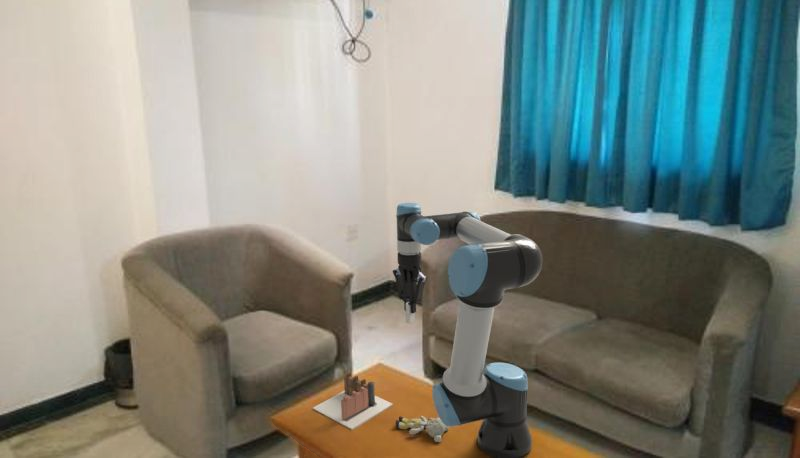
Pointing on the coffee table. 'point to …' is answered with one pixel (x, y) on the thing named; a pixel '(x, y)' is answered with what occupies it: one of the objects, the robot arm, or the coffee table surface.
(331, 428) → the coffee table surface
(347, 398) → the fence panel
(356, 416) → the card
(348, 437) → the coffee table surface
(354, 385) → the fence fixed
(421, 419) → the toy
